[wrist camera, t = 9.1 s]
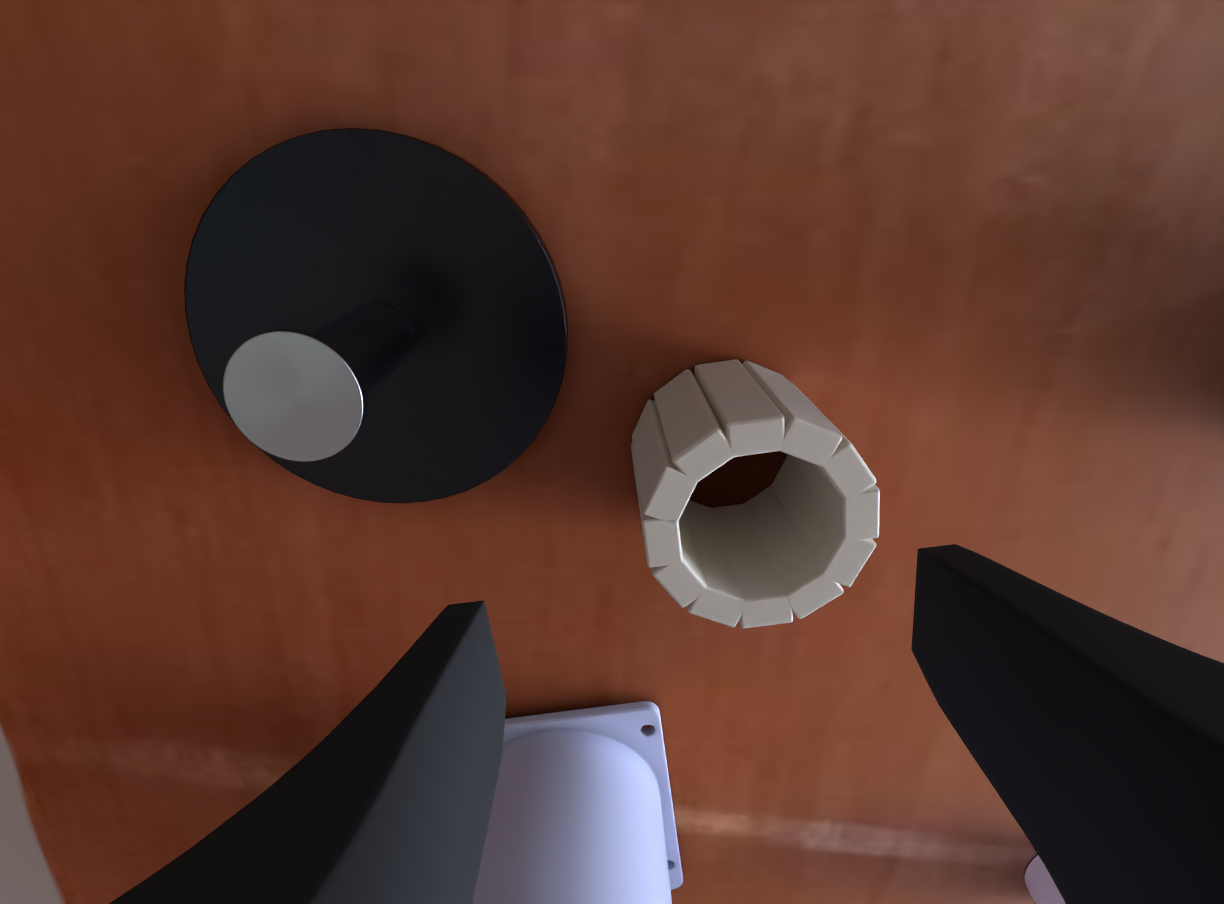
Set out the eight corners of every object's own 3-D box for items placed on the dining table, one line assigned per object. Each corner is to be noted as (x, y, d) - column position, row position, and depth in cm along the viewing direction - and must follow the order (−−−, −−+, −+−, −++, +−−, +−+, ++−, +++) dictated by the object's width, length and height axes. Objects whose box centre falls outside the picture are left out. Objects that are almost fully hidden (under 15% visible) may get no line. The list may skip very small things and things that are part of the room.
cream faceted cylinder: (815, 516, 21) (878, 612, 16) (643, 540, 21) (657, 640, 17) (812, 347, 19) (882, 401, 14) (621, 374, 19) (629, 436, 14)
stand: (592, 468, 20) (592, 585, 14) (271, 512, 20) (143, 644, 15) (533, 102, 16) (500, 58, 11) (139, 161, 17) (-104, 152, 11)
